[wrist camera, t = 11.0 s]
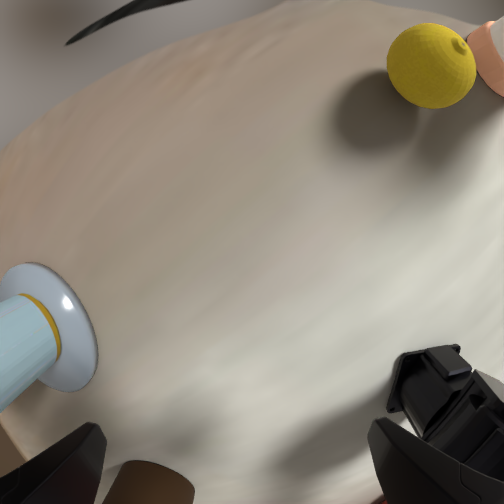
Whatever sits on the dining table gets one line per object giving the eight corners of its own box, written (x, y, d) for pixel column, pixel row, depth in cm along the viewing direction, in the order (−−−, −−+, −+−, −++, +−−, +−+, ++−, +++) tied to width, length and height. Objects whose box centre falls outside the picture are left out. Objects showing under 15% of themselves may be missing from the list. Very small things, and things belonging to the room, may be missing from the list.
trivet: (112, 397, 22) (107, 404, 21) (24, 370, 22) (19, 375, 21) (83, 263, 20) (74, 267, 18) (-4, 260, 20) (-12, 263, 19)
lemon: (401, 131, 17) (468, 103, 9) (356, 68, 16) (400, 11, 8) (445, 104, 16) (509, 76, 8) (405, 46, 15) (454, -1, 8)
